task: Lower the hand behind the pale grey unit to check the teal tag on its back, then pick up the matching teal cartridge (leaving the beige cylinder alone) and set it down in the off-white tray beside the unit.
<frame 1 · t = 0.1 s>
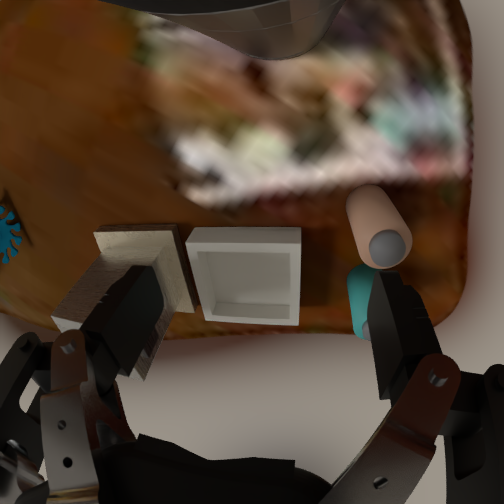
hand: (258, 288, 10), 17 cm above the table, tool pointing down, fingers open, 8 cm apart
grey unit: (148, 266, 34), on the table
tray: (250, 270, 32), on the table
gear: (11, 220, 34), on the table
beige cylinder: (367, 205, 25), on the table
teal cartridge: (365, 279, 30), on the table
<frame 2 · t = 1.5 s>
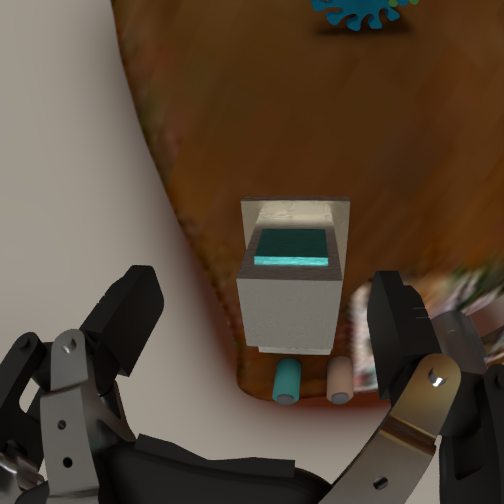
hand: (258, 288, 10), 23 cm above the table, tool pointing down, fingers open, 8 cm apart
grey unit: (296, 238, 34), on the table
tray: (296, 315, 41), on the table
gear: (357, 2, 18), on the table
beige cylinder: (339, 363, 46), on the table
teal cartridge: (289, 365, 48), on the table
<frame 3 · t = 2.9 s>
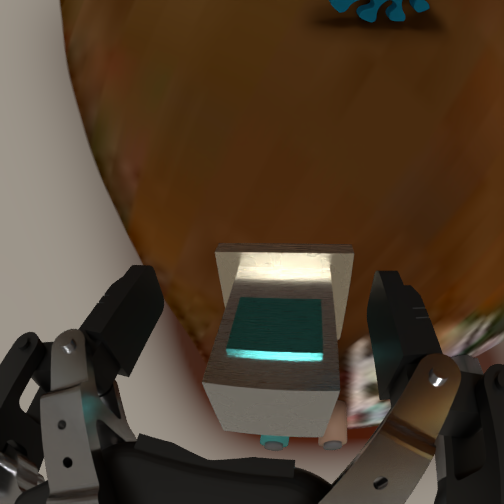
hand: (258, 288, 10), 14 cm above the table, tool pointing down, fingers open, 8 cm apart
grey unit: (285, 291, 28), on the table
beige cylinder: (333, 405, 40), on the table
teal cartridge: (278, 407, 42), on the table
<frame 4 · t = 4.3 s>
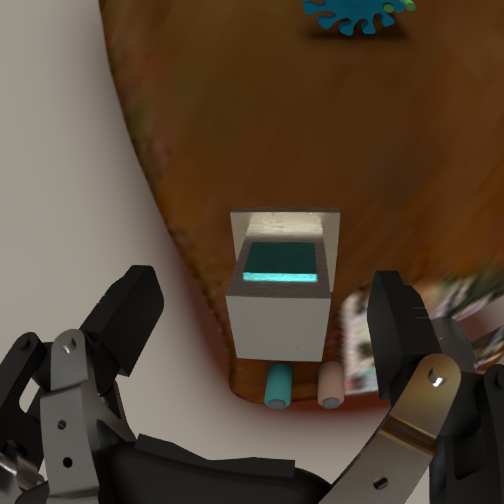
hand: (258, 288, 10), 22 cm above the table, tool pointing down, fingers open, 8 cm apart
grey unit: (286, 248, 34), on the table
gear: (351, 6, 18), on the table
beige cylinder: (330, 368, 46), on the table
teal cartridge: (280, 370, 48), on the table
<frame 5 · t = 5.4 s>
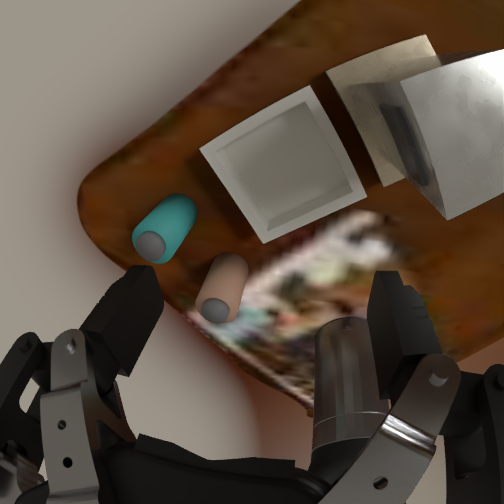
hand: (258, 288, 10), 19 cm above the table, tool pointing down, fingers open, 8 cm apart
grey unit: (403, 107, 21), on the table
tray: (286, 161, 26), on the table
beige cylinder: (230, 267, 34), on the table
teal cartridge: (179, 211, 31), on the table
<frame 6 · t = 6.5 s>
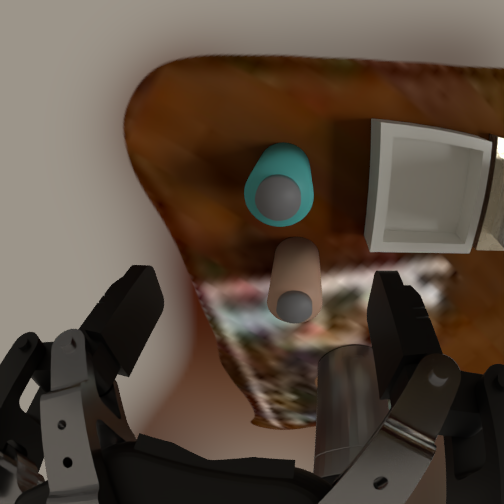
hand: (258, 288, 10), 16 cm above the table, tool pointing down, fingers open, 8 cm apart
tray: (423, 183, 22), on the table
beige cylinder: (296, 256, 28), on the table
teal cartridge: (284, 167, 23), on the table
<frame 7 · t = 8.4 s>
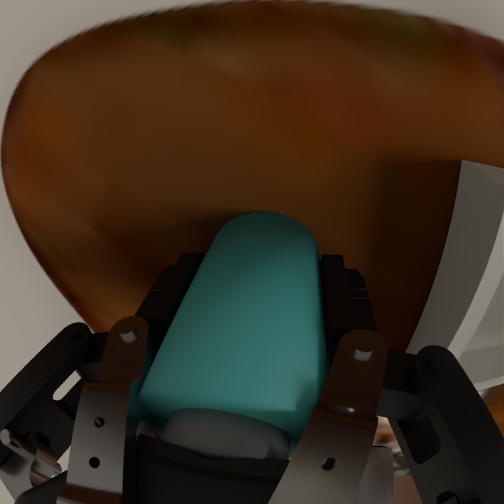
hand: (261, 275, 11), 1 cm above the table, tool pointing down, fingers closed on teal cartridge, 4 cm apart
teal cartridge: (265, 262, 11), on the table, touching gripper
when the fingers open (3 cm above the table, at t = 14.1 s): teal cartridge drops 2 cm, resting on tray.
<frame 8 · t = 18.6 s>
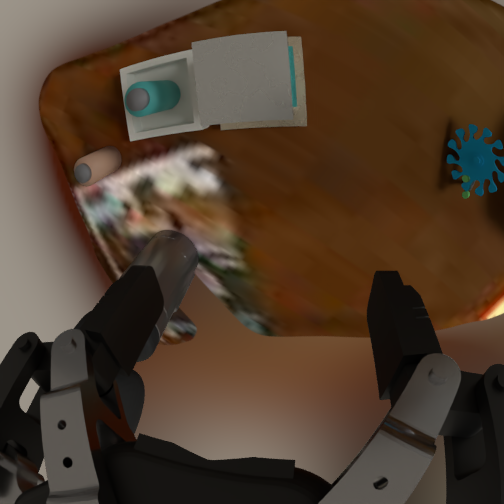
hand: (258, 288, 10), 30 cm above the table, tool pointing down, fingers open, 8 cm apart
grey unit: (261, 82, 31), on the table
tray: (167, 95, 33), on the table
gear: (463, 155, 31), on the table
beige cylinder: (110, 158, 40), on the table
teal cartridge: (165, 95, 33), point 1 cm above the table, touching tray
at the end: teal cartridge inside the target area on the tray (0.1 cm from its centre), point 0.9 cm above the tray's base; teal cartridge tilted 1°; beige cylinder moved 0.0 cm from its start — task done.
